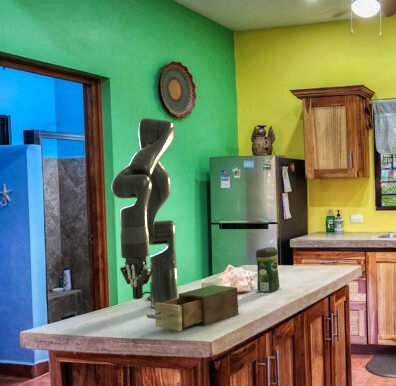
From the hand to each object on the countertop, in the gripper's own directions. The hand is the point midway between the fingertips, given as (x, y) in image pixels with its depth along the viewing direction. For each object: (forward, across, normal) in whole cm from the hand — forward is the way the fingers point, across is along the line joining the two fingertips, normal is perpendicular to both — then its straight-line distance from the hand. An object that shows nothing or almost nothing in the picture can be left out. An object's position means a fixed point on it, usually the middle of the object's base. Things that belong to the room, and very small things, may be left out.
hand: (137, 298), depth 146 cm
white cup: (+13, +12, -38) cm, 42 cm away
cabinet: (+13, 0, -26) cm, 29 cm away
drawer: (+12, 0, -14) cm, 18 cm away
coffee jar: (+13, +11, -67) cm, 69 cm away
